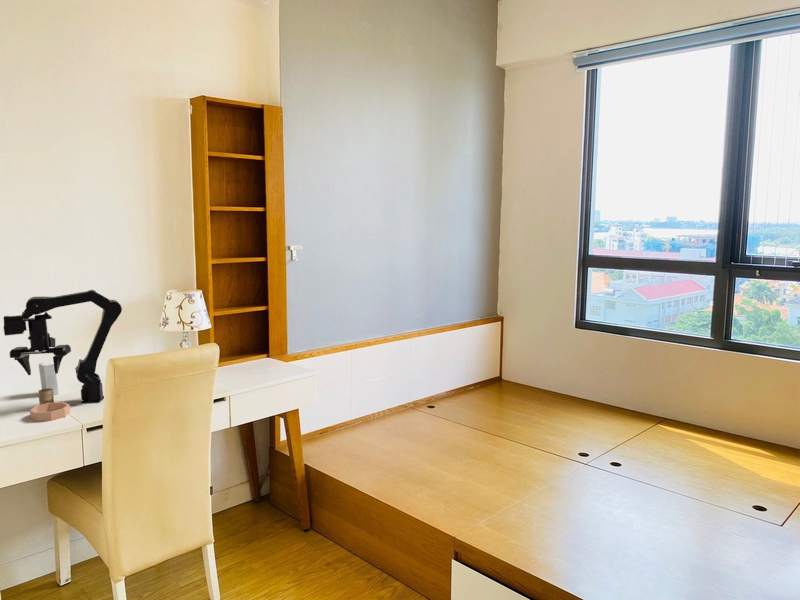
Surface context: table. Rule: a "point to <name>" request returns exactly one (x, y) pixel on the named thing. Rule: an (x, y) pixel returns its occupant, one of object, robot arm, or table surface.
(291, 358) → the table surface
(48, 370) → the skincare box
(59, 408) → the pink octagonal ring
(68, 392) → the table surface
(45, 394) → the oak tube
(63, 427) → the table surface
